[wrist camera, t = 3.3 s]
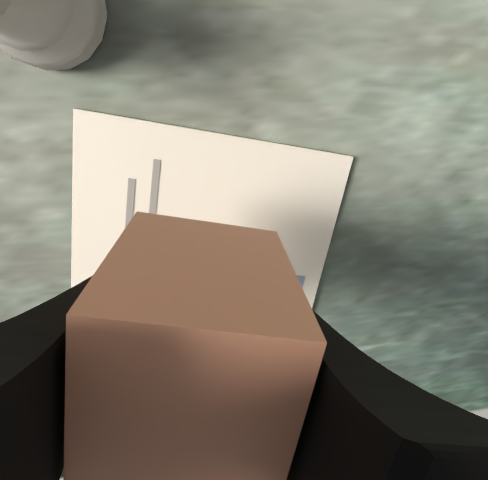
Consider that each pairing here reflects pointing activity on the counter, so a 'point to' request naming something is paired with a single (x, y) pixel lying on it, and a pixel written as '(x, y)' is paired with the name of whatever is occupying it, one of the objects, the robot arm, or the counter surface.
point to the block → (189, 356)
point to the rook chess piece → (52, 31)
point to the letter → (200, 187)
